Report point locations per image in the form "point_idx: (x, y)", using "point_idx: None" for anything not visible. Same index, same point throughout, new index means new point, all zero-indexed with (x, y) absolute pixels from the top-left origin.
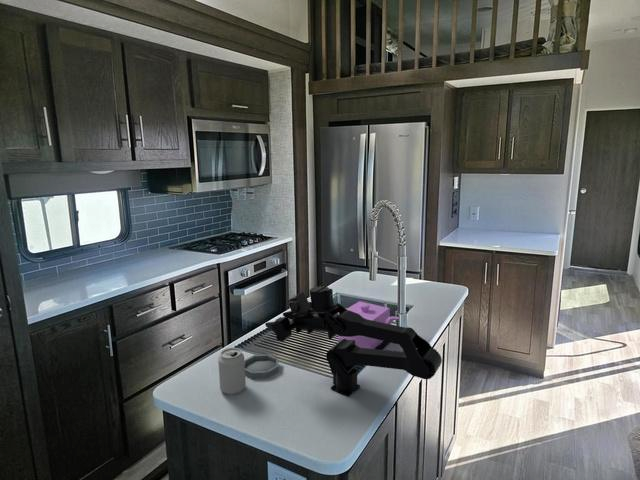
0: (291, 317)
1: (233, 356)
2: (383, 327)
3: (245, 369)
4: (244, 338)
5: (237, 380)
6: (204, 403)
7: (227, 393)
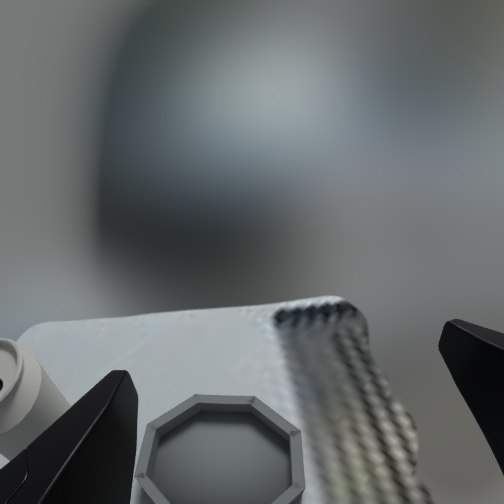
0: (492, 416)
1: (52, 385)
2: None
3: (146, 440)
4: (331, 296)
5: None
6: None
7: None
